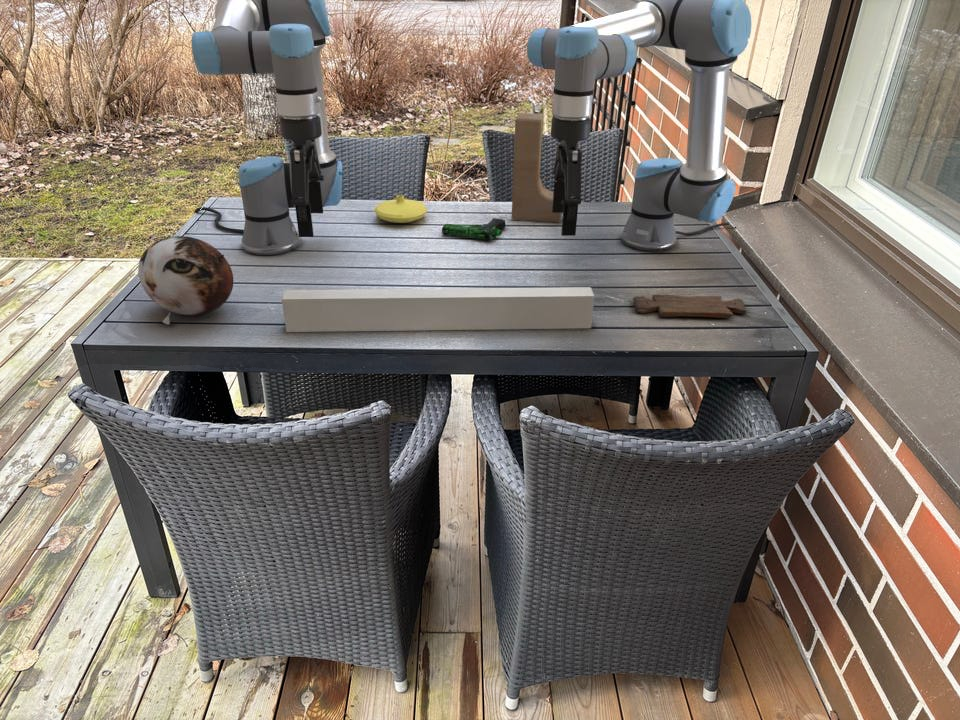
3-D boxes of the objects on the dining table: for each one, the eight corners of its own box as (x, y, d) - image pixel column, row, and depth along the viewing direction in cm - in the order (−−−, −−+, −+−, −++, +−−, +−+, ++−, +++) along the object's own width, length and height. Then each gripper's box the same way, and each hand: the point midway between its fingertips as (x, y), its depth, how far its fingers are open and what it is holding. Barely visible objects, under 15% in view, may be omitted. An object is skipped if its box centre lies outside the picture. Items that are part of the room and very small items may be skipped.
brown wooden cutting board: (751, 321, 162) (739, 301, 171) (753, 314, 161) (740, 295, 170) (638, 317, 162) (631, 298, 171) (639, 310, 162) (632, 291, 170)
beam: (286, 332, 154) (281, 299, 150) (290, 322, 158) (285, 289, 154) (591, 328, 158) (594, 296, 154) (587, 318, 162) (590, 287, 158)
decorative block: (560, 223, 215) (568, 120, 200) (511, 220, 217) (515, 118, 201) (561, 214, 221) (569, 114, 206) (513, 212, 223) (517, 112, 208)
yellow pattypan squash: (398, 206, 226) (397, 184, 222) (437, 217, 218) (437, 194, 214) (364, 220, 215) (362, 197, 211) (403, 231, 207) (402, 208, 203)
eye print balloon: (100, 300, 154) (135, 215, 156) (167, 323, 170) (198, 245, 171) (166, 325, 144) (203, 233, 145) (230, 347, 159) (263, 264, 161)
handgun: (511, 219, 210) (493, 234, 198) (511, 228, 211) (492, 244, 199) (461, 212, 215) (440, 226, 203) (461, 221, 217) (440, 236, 204)
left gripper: (309, 131, 123) (321, 247, 134) (328, 102, 145) (337, 204, 155) (265, 131, 123) (281, 247, 134) (291, 102, 144) (303, 204, 155)
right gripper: (603, 132, 126) (592, 245, 137) (580, 103, 147) (571, 203, 158) (561, 132, 125) (553, 245, 136) (543, 103, 147) (538, 203, 158)
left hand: (311, 224), depth 145 cm, fingers open, 13 cm apart
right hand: (563, 223), depth 147 cm, fingers open, 13 cm apart
